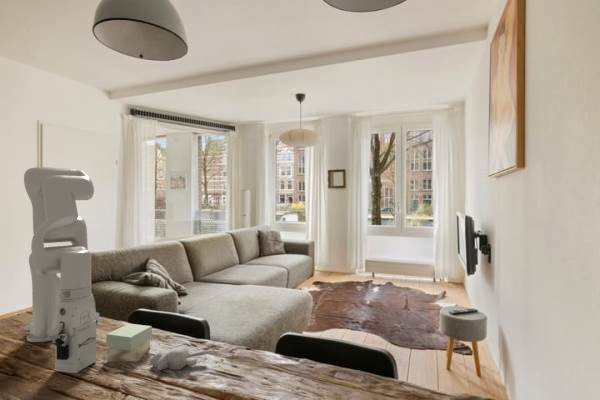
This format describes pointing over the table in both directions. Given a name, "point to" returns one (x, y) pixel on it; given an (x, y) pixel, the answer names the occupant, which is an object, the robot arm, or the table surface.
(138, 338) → the block top
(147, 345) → the block bottom
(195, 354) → the bunny figurine
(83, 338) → the supplement box
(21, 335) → the table surface
